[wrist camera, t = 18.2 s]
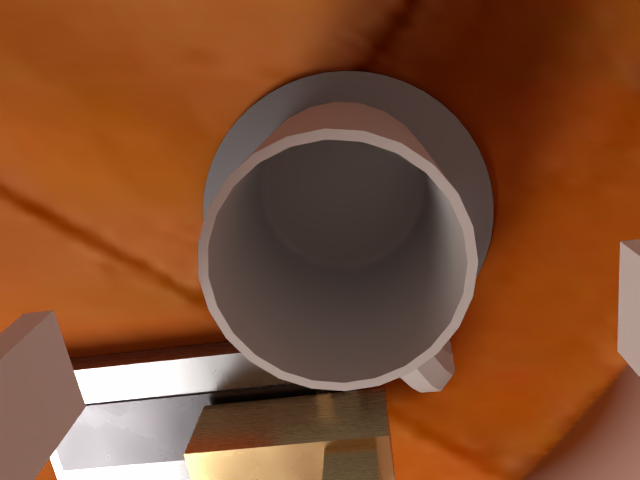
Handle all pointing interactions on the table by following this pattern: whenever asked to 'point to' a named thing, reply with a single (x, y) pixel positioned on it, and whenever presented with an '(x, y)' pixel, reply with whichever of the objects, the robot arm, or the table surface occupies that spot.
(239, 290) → the cup
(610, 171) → the table surface
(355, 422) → the brass stepped block
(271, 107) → the coaster
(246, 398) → the lock plate
